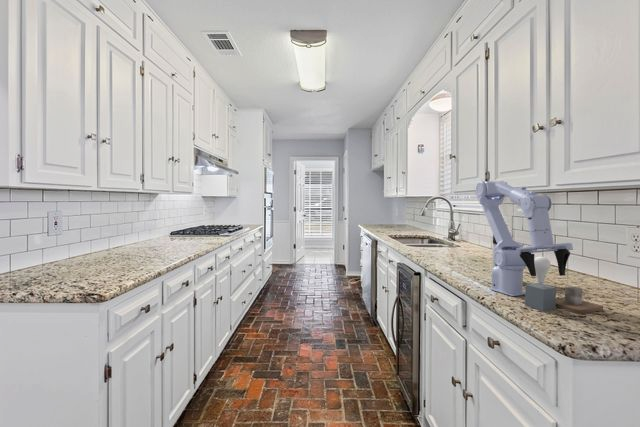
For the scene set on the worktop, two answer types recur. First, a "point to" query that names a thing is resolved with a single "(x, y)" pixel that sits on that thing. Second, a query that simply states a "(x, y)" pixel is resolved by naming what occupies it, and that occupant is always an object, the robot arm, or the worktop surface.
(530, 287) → the blue-grey block
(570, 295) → the brown base with post
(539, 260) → the lightbulb
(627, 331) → the worktop surface
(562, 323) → the worktop surface
